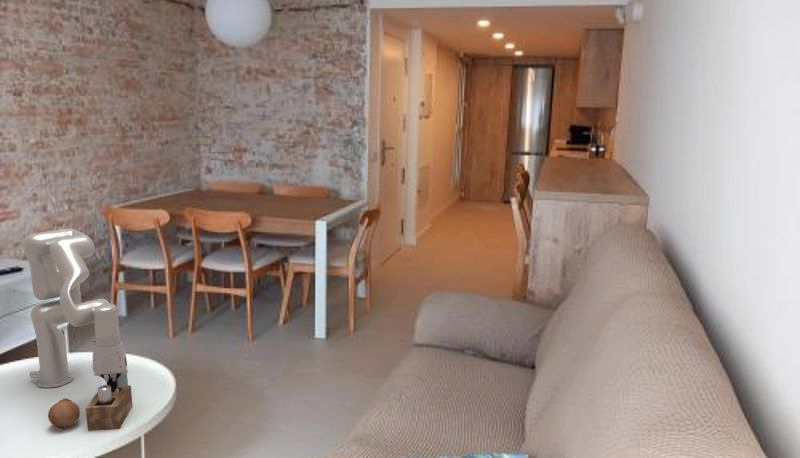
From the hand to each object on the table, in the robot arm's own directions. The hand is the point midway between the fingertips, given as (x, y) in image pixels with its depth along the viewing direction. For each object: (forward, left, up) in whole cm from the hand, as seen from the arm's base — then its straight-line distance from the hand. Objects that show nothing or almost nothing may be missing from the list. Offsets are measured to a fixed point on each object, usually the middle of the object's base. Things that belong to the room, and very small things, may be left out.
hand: (112, 390), depth 223 cm
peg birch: (0, 0, -8) cm, 8 cm away
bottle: (-3, +16, -9) cm, 18 cm away
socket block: (0, -4, -8) cm, 9 cm away
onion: (-14, -8, -9) cm, 18 cm away
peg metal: (0, -8, -3) cm, 9 cm away
